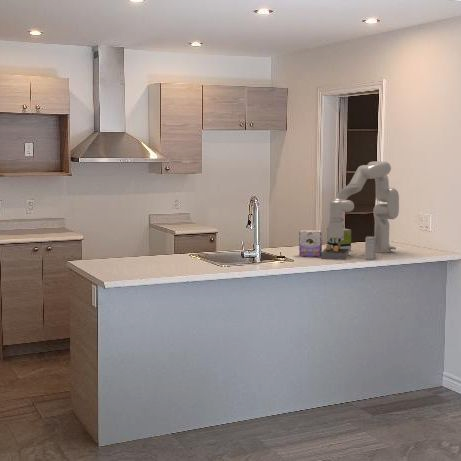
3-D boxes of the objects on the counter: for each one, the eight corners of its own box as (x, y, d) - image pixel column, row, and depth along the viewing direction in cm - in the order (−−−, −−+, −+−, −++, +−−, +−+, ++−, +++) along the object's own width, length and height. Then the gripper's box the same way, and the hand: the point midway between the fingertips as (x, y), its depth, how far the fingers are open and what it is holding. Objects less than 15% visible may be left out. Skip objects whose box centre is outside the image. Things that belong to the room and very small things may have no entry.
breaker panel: (348, 255, 468) (348, 248, 467) (345, 259, 448) (345, 252, 448) (325, 254, 471) (325, 247, 471) (321, 258, 452) (321, 252, 452)
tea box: (326, 249, 494) (326, 227, 492) (338, 248, 498) (339, 227, 496) (338, 252, 480) (339, 230, 478) (351, 251, 484) (351, 229, 483)
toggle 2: (338, 250, 455) (338, 245, 455) (337, 251, 452) (337, 246, 452) (334, 250, 456) (334, 245, 455) (333, 251, 453) (333, 246, 452)
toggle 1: (330, 249, 462) (330, 244, 461) (330, 250, 459) (330, 245, 458) (326, 249, 462) (326, 244, 462) (326, 249, 459) (326, 244, 459)
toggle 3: (340, 248, 466) (340, 243, 465) (339, 249, 463) (339, 244, 462) (336, 248, 466) (336, 243, 466) (335, 248, 463) (335, 244, 463)
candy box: (322, 256, 464) (322, 230, 462) (320, 257, 458) (321, 231, 456) (300, 255, 468) (300, 229, 466) (299, 256, 462) (299, 230, 460)
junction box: (374, 256, 460) (375, 236, 458) (373, 259, 448) (374, 239, 446) (366, 256, 461) (366, 236, 460) (364, 259, 449) (365, 238, 448)
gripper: (348, 219, 459) (347, 248, 461) (324, 219, 463) (324, 248, 465) (347, 221, 452) (346, 250, 454) (322, 220, 456) (322, 249, 458)
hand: (335, 249), depth 459 cm, fingers closed
